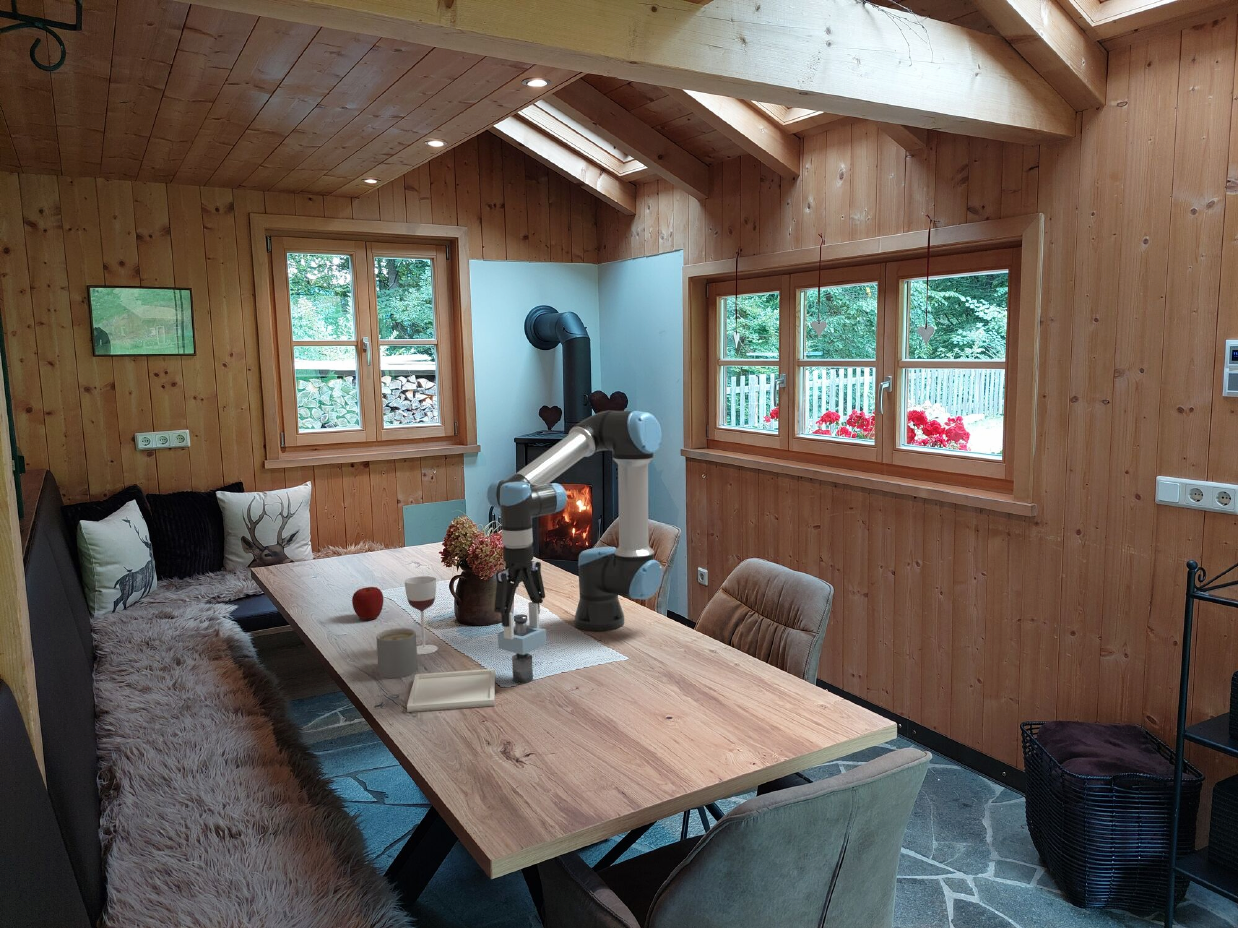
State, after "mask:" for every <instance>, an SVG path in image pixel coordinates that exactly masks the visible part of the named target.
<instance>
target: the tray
mask: <svg viewBox="0 0 1238 928" xmlns="http://www.w3.org/2000/svg"><path fill="white" fill-rule="evenodd" d="M412 683H413V684H412V687H411V689H410V693H409V697H408V700H407V705H406V712H407V713H413V712H414V713H417V712H427V711H428V712H429V711H441V710H454V709H456V710H457V709H469V708H482V707H483V708H484V707H493V706H494V707H495V699H496V697H495V696H496V695H495V694H496V668H488V669H487V668H485V669H474V670H459V671H456V670H455V671H447V672H430V673H428V672H427V673H418V674H417V673H415V675H414V679H413V682H412Z"/></svg>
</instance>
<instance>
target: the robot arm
mask: <svg viewBox="0 0 1238 928" xmlns="http://www.w3.org/2000/svg"><path fill="white" fill-rule="evenodd" d="M661 428H662V427H661V425H660V423H659V421H658V420H657V419H656V416H654V415H653V414H652V413H651V412H646V411H640V410H613V409H612V410H604V411H600V412H596V413H595V414H593V415H591V416H589V417H586V418H585V419H583V420H582V421H580V422H578V423H577V424H576V425H575V426H573V427H571V429H570V430H569V432H568V435H567V436H565V437H564V438H563V439H561V440H560V441H558V442H557V443H556V444H555V445H552V447H550V448H548V450H546V451H545V452H543V453H542V454H541V455H539V456H538V457H537V458H535V459H534V460H532V461H531V462H530V463H528V464H527V465H525V466H524V467H523V468H522V469H520V470H519V471H518V472H516V473H515V474H513V475H512V476H511V477H509V478H507V479H506V480H504V479H500V480H498V479H497V480H495V481H493V482H491V483H490V485H489V486H488V488H487V492H486V494H487V496H486V497H487V498H486V499H487V501H488V503H489V504H490V505H491V507H493V508H496V509H499V510H500V522H501V539H502V541H501V543H502V545H503V547H502V559H503V562H504V563H505V567H504V570H503V571H501V572H500V571H496V573H495V579H496V587H495V588H496V589H495V600H494V610H493V611H494V612H495V613H498V614H500V615H501V626H502V627H503V631H504V638H507V639H511V640H512V639H514V629H513V627H514V613H513V612H511V609H512V607H513V603H514V599H515V598H514V597H515V594H516V591H517V588H519V585H520V583H522V584H523V585H524V588H525V590H526V594H527V595H528V597H529V600H530V602H528V623H529V626H533V627H537V628H540V615H541V614H540V613H541V612H540V611H541V609H540V605H541V604H542V603H543V602H544V599H545V598H546V592H545V587H544V582H543V576H542V571H541V569H542V563H541V562H539V561H535V560H534V546H533V542H534V538H533V518H537V517H542V516H547V515H551V514H553V515H554V514H556V513H557V512H560V511H562V510H563V509H565V507H566V505H567V501H568V499H567V498H568V495H567V492H566V489H565V488H564V487H563V486H562V484H560V483H557V482H553V481H554V480H555V479H556V478H558V477H559V476H561V474H563V473H564V472H567V470H568V469H570V468H571V467H573V466H574V465H575V464H576V463H577V462H579V461H580V460H581V459H583V458H584V457H585V458H586V457H587V458H589V457H590V456H592V455H594V454H595V453H597V452H601V451H602V452H603V451H610V452H611V451H612V460H613V461H614V462H615V463H616V464H617V469H618V470H617V473H618V474H617V477H618V478H617V480H618V483H617V484H618V492H617V493H618V547H617V548H616V547H615V546H600V547H593V548H588V549H586V550H582V551H581V552H580V553H579V555H578V564H577V568H578V569H577V570H578V588H579V601H578V604H577V607H576V611H575V614H574V626H575V627H576V628H578V629H580V630H583V631H589V632H590V631H592V632H601V631H611V630H612V631H613V630H616V629H618V628H621V627H623V626H624V625H625V614H624V611H623V608H622V606H621V603H620V599H619V596H621V597H627V598H631V599H633V600H635V599H636V600H637V599H638V600H648V599H650V598H652V597H653V596H654V595H655V594H656V593H657V591H658V589H659V588H660V586H661V583H662V580H663V572H664V571H663V568H662V565H661V563H660V562H659V561H658V560H656V559H655V551H654V549H653V548H651V547H650V545H649V541H650V540H649V464H650V462H651V461H652V460H653V459H654V453H656V452H657V451H658V450H659V449H660V445H661V444H662V440H663V439H662V437H663V436H662V434H663V433H662V429H661ZM551 482H553V483H551Z"/></svg>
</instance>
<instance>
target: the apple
mask: <svg viewBox="0 0 1238 928" xmlns="http://www.w3.org/2000/svg"><path fill="white" fill-rule="evenodd" d="M351 602H352V607H353V610H354V612H355V614H356V616H357V617H358V618H359V619H361V620H363V621H364V620H365V621H367V620H368V621H369V620H375V619H377V618H378V617H379V616H380V615H381V613H382V611H383V607H384V594H383V591H382V590H381V589H380V588H379V587H375V586H367V587H362V588H359V589H357V590H356V591H355V592H354V593H353V595H352V598H351Z"/></svg>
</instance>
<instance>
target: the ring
mask: <svg viewBox="0 0 1238 928" xmlns="http://www.w3.org/2000/svg"><path fill="white" fill-rule="evenodd" d="M526 625H527V624H526ZM513 629H514V639H512V640H511V639H507V638H504V630H502V631H499V632H498V633H497V643H498V644H497V646H498V647H497V648H498V649H499V650H501V651H502V650H503V651H507V652H510V653H514V654H516V653H517V654H521V655H524V654H527V653H528V654H530V653H531V652H533V651H535V650H538V649H541V648H543V647H545V646H547V629H546V628H541V627H539V628H537V627H533V626H529V625H527V635H525V636H518V635H516V632H515V625H513Z"/></svg>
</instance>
